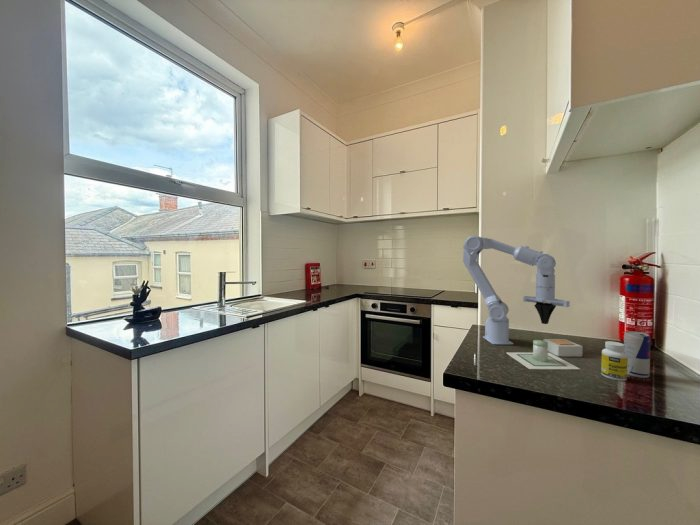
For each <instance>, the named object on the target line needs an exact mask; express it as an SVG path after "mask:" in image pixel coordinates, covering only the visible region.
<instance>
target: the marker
mask: <svg viewBox="0 0 700 525" xmlns="http://www.w3.org/2000/svg"><path fill="white" fill-rule="evenodd" d="M532 353H533V359H534V360H536V361H539V362H547V361H548V353H549V351H548V342H546V341H543V339H542V340H541V339H534V340H533V341H532Z"/></svg>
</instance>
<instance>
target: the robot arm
mask: <svg viewBox="0 0 700 525" xmlns="http://www.w3.org/2000/svg"><path fill="white" fill-rule="evenodd" d="M462 246H463V253H462V254H463V255H462V262H463V263H464V266H465V267H466V269H467V271H468V272H469V275H470V276H471V278H472V280H473V281H474V283H475V285H476V287H477V288H478V290H479V292H480V294H481V295H482V298H483V299H484V301H485V305H486V307H487V311H488V312H487V313H488V315H489V316H488V317H487V319H486V320H485V322H484V335H483V336H482V338H483V339H484V340H486V341H488V342H489V343H490V344H491V345H514V342H512V341H510V338H509V336H510V319H509V317H507V315H508V313H509V311H510V310H509V306H508V305H507V304H506V303H505V302H503V300H502V299H501V297H500V296H499V295H498V294H497V293H496V290H495V289H494V288H493V286H492V284H491V283H490V281H489V279H488V277H487V276H486V274H485V272H484V270H483V269H482V266H481V265H480V263H479V262H478V258H479V255H480V254H481V252H482V251H483V250H490V249H491V250H492V249H493V250H495V251H499V252H503V253H504V254H505V253H506V254H508V255H510V256H513V258H514V260H515V261H517V262H520V263H523V264H526V265H528V266H531V267H534V266H536V275H535V296H528V295H524V296H523V302H524V303H525V302H527V303H535V304H534V308H535V310H536V311H537V313H538V315H539V318H540V322H541V324H543V325H549V321H550V319H551V315H552V313H553V312H554V310H555V308H556V307H557V306H558V307H564V308H569V307H570V300H563V299H557V298H555V296H556V295H555V294H556V275H555V272H556V271H555V267H556V265H557V263H556V260H555V258H554V256H552V255H549V254H547V253H544V251H542V250H540V251H539V250H538V251H537V250H536V249H532V248H530V246H528V245H525V246H523V245H520V246H518V247H514V246H512V245H509V244H506V243H504V242H501V241H498V240H496V239H493V238H488V237H481V236H479V235H478V236H477V235H470V236H468V237H467V238H466V239H465V241H464V244H463V245H462Z"/></svg>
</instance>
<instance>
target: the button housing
mask: <svg viewBox="0 0 700 525" xmlns="http://www.w3.org/2000/svg"><path fill="white" fill-rule="evenodd" d="M551 340H566V341H568V342H571V343H573V344H574V345H558V344H556V343H554V342H552V341H551ZM542 341H546V342H548V353H551V354H553V355H555V356H557V357H581V358H582V357H583V347H584V346H583V345H581V344H577V343H576V342H573V341H570V340H569V339H566V338H561V339H560V338H545V339H542Z"/></svg>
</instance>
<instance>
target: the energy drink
mask: <svg viewBox="0 0 700 525" xmlns="http://www.w3.org/2000/svg"><path fill="white" fill-rule="evenodd" d="M623 344H624V345H625V349H624V350H623V352H625V353H626V354H627V355H628V363H627V376H628V375H629V376H631V377H636V378H641V379H647V378H649V377H650V374H651V373H650V372H651V370H650V369H651V336H650V334H649V333H645V332H641V331H640V332H639V331H633V330H626V331H625V332H624V334H623Z"/></svg>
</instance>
